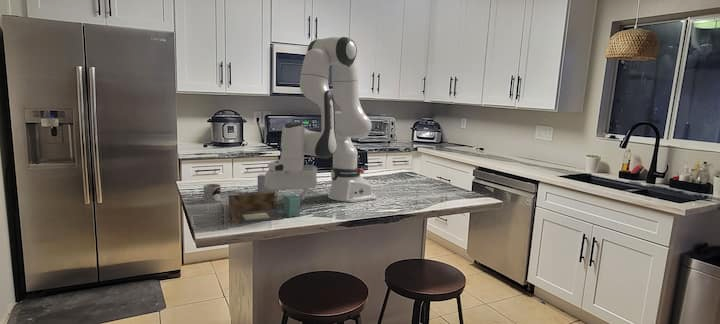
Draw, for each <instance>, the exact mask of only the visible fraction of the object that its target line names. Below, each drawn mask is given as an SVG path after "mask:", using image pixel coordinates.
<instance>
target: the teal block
mask: <svg viewBox="0 0 720 324" xmlns="http://www.w3.org/2000/svg"><path fill="white" fill-rule="evenodd" d="M283 208H284V210H283V212H284V213H285V214H286V216H288V217H289V218H293V217H292V216H297V217H301V215H300V213H301V199H300V196H297V195H296V194H284V207H283Z"/></svg>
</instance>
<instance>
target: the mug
mask: <svg viewBox="0 0 720 324" xmlns="http://www.w3.org/2000/svg"><path fill="white" fill-rule="evenodd" d="M221 189H222V187H221V185H220V184H219V183H218V184H217V183H207V184H204V185H203V202H204V203H206V204H217V203H220V202H221V195H222V190H221Z"/></svg>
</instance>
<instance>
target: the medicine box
mask: <svg viewBox="0 0 720 324" xmlns="http://www.w3.org/2000/svg"><path fill="white" fill-rule="evenodd" d="M265 175H266V173H259V174H258V175H257V193H271V192H274V190H267V189H266V188H265V186H264V182H265Z"/></svg>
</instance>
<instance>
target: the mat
mask: <svg viewBox="0 0 720 324" xmlns="http://www.w3.org/2000/svg"><path fill="white" fill-rule="evenodd" d="M278 220H284V217H283V216H282V215H281V214H280V213H279V212H278V211H277V210H276V209H271V210H260V211H248V212H240V223H239V224H246V223H256V222H257V223H258V222H265V221H267V222H269V221H278Z"/></svg>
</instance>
